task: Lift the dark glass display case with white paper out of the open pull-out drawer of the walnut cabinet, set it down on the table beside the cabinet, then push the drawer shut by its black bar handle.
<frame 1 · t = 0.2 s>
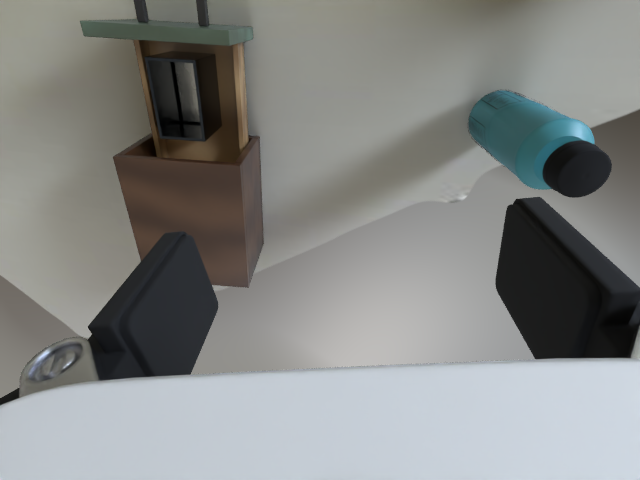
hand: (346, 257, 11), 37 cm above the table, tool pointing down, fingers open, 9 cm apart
cabinet: (214, 188, 51), on the table
drawer: (185, 89, 38), point 6 cm above the table, slide at 11.0 cm, touching dark glass display case
dark glass display case: (198, 90, 42), point 2 cm above the table, touching drawer
beverage bottle: (489, 113, 43), on the table
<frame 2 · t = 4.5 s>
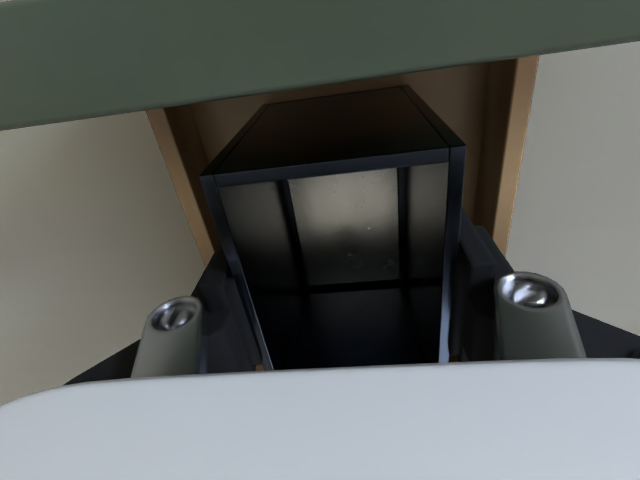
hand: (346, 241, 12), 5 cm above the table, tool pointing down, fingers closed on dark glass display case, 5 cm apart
drawer: (344, 236, 11), point 5 cm above the table, slide at 11.0 cm, touching dark glass display case
dark glass display case: (345, 200, 14), point 2 cm above the table, touching drawer, gripper
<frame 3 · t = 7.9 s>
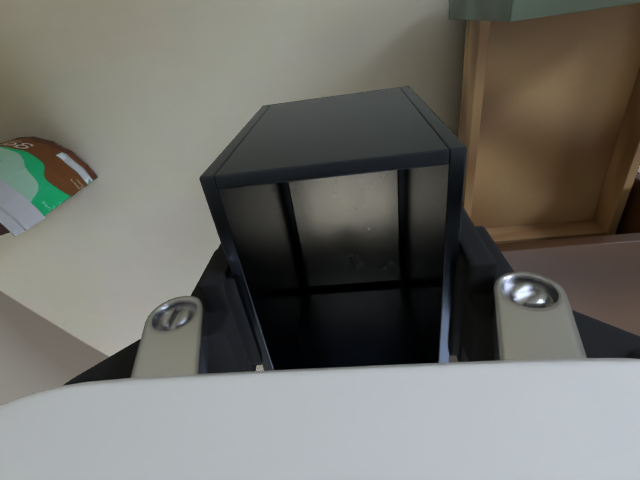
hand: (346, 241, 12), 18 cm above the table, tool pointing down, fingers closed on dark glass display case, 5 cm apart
cabinet: (509, 253, 32), on the table
drawer: (584, 102, 20), point 6 cm above the table, slide at 11.0 cm
dark glass display case: (345, 201, 14), point 15 cm above the table, touching gripper
food container: (31, 159, 30), on the table
when the fingers open (3 cm above the table, at t = 11.5 s): dark glass display case stays where it is, on the table.
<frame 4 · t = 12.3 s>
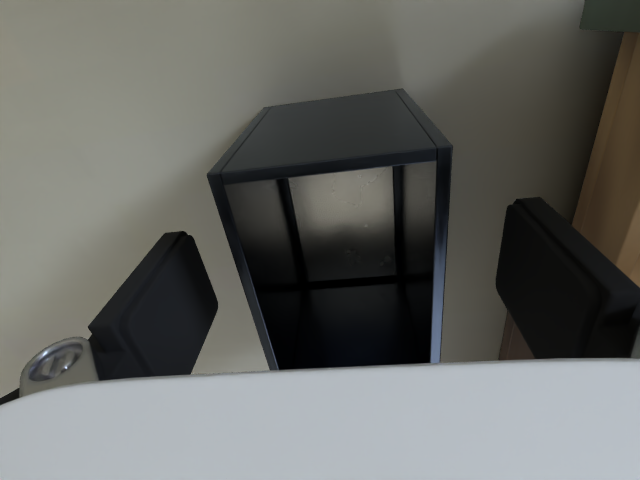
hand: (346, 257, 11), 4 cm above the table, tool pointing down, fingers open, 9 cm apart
cabinet: (614, 394, 20), on the table
dark glass display case: (343, 199, 15), on the table
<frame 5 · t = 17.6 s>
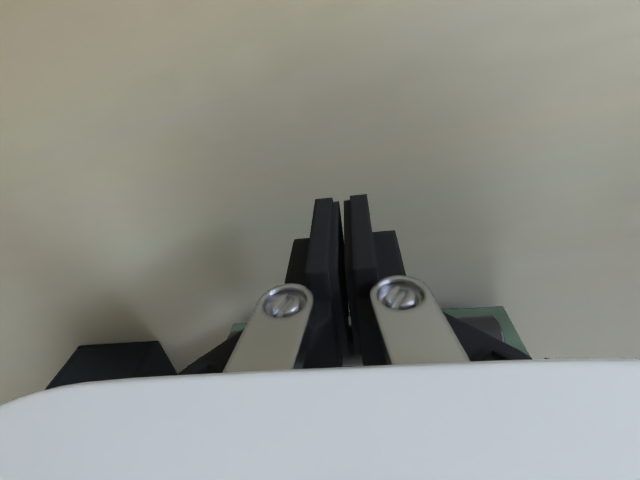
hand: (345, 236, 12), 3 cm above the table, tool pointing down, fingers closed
dark glass display case: (146, 385, 23), on the table
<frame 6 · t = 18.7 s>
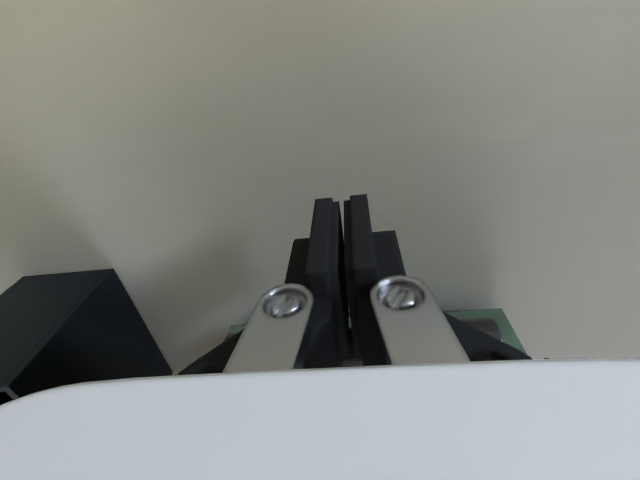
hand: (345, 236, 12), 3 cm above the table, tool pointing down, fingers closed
dark glass display case: (104, 329, 20), on the table
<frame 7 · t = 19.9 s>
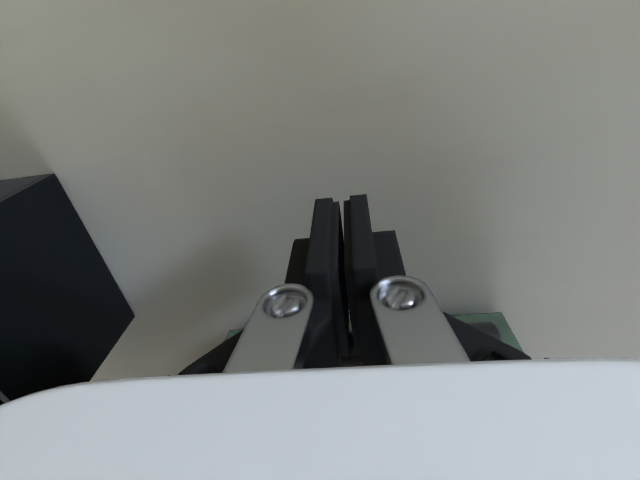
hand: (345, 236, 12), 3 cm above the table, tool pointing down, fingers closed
dark glass display case: (51, 258, 17), on the table
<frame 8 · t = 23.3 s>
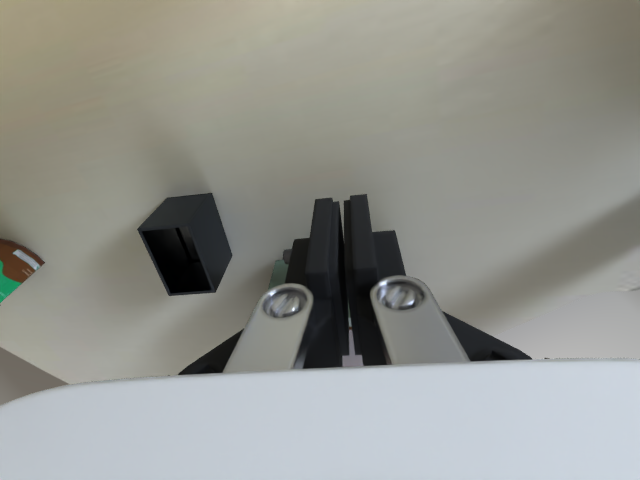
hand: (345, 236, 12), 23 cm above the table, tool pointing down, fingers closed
cabinet: (341, 312, 45), on the table
drawer: (338, 326, 39), point 5 cm above the table, slide at 0.0 cm
dark glass display case: (201, 228, 39), on the table
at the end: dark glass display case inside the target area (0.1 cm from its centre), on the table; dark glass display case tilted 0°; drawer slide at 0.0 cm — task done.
